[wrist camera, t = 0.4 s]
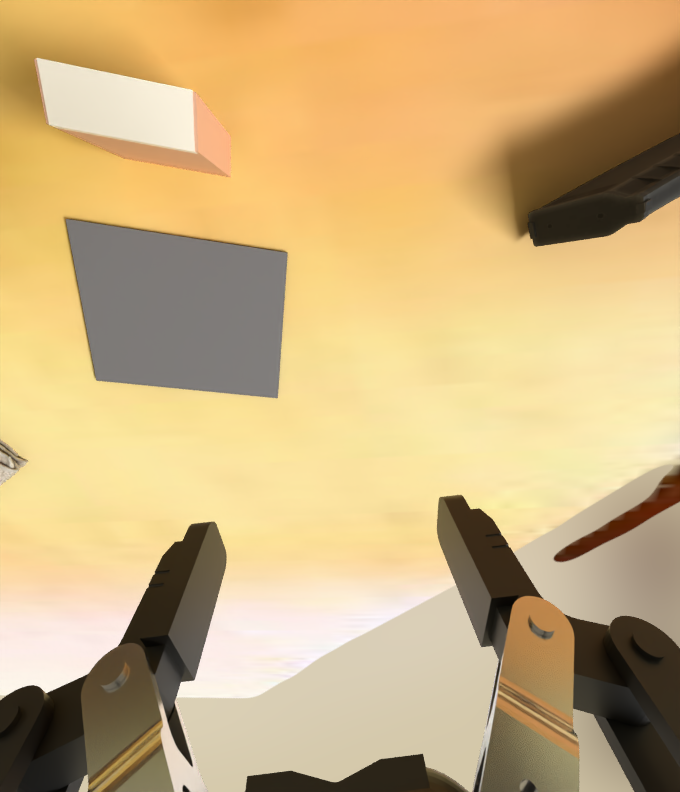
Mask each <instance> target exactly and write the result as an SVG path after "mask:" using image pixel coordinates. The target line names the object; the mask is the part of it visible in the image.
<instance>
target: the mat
mask: <svg viewBox="0 0 680 792" xmlns="http://www.w3.org/2000/svg"><path fill="white" fill-rule="evenodd" d="M66 223H67V229H68V234H69V239H70V244H71V250H72V255H73V260H74V265H75V271H76V276H77V281H78V286H79V292H80V297H81V302H82V307H83V313H84V318H85V323H86V328H87V334H88V339H89V344H90V349H91V355H92V360H93V365H94V370H95V376H96V380H97V381H107V382H117V383H127V384H138V385H148V386H158V387H168V388H179V389H189V390H199V391H209V392H220V393H230V394H240V395H250V396H260V397H271V398H278V386H279V371H280V357H281V342H282V327H283V313H284V298H285V283H286V269H287V254H288V253H286V252H279V251H273V250H266V249H260V248H253V247H247V246H240V245H234V244H227V243H221V242H214V241H208V240H201V239H195V238H188V237H181V236H175V235H168V234H162V233H155V232H149V231H142V230H136V229H129V228H123V227H116V226H110V225H103V224H97V223H90V222H83V221H77V220H70V219H66Z"/></svg>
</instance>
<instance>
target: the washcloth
mask: <svg viewBox="0 0 680 792" xmlns="http://www.w3.org/2000/svg"><path fill="white" fill-rule="evenodd" d="M27 462H28V460H23V459H21V458H19V457H18V454H17V453H16V452H15V451H14V450H13V448H12V447H10V446H9V445H8V444H6V443H5V442H3V441H2V440H0V485H2V484H3V483H4V482H6V480H8V479H10V478H11V477H12V476H13V475H15V473H17V472H18V471H19V469H20V468H21V467H23V466H25V465H26V463H27Z"/></svg>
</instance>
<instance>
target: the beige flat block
mask: <svg viewBox="0 0 680 792" xmlns="http://www.w3.org/2000/svg"><path fill="white" fill-rule="evenodd" d="M34 61H35V66H36V71H37V76H38V82H39V87H40V92H41V97H42V103H43V108H44V113H45V118H46V124H48V125H50V126H53V127H55V128H57V129H59V130H62V131H64V132H66V133H68V134H71V135H73V136H75V137H77V138H80V139H82V140H84V141H86V142H89V143H91V144H93V145H95V146H97V147H100V148H102V149H104V150H106V151H109V152H111V153H113V154H115V155H118V156H120V157H122V158H124V159H130V160H135V161H141V162H146V163H152V164H158V165H163V166H169V167H175V168H180V169H186V170H191V171H197V172H203V173H208V174H214V175H220V176H225V177H231V136H230V135H229V134H228V132H227V131H226V130H225V128H224V127H223V126H222V125H221V123H220V122H219V121H218V120H217V118H216V117H215V116H214V115H213V113H212V112H211V111H210V109H209V108H208V107H207V106H206V104H205V103H204V102H203V101H202V99H201V98H200V97H199V96H198V94H197V93H196V92H193V91H192V90H190V89H185V88H180V87H175V86H171V85H166V84H161V83H156V82H151V81H146V80H142V79H137V78H132V77H127V76H122V75H118V74H113V73H108V72H103V71H98V70H93V69H89V68H84V67H79V66H74V65H69V64H64V63H60V62H55V61H50V60H45V59H40V58H37V59H34Z"/></svg>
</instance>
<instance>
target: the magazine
mask: <svg viewBox="0 0 680 792" xmlns="http://www.w3.org/2000/svg"><path fill="white" fill-rule="evenodd" d="M678 197H680V133H679V134H678V135H676V136H674V137H672V138H670V139H668V140H666V141H664V142H662V143H660V144H658V145H656V146H654V147H652V148H651V149H649V150H647V151H645V152H643V153H641V154H639V155H637V156H635V157H633V158H632V159H630V160H628V161H626V162H624V163H622V164H620V165H618V166H617V167H615V168H613V169H611V170H609V171H607V172H605V173H604V174H602V175H600V176H598V177H596V178H594V179H593V180H591V181H589V182H587V183H585V184H583V185H582V186H580V187H578V188H576V189H574V190H573V191H571V192H569V193H567V194H565V195H563V196H562V197H560V198H558V199H556V200H554V201H553V202H551V203H549V204H547V205H545V206H543V207H542V208H540V209H537V210H533V211H532V212H530V213H529V214H528V218H529V223H528V228H529V233H530V238H531V239H533V244H534V246H536V247H537V246H543V245H550V244H557V243H564V242H571V241H577V240H584V239H591V238H598V237H604V236H609V235H611V234H613V233H615V232H616V231H618V230H619V229H621V228H622V227H624V226H625V225H627V224H630V223H636V222H640V221H642V220H643V219H645V218H646V217H647V216H648V215H649V214H651V213H652V212H654V211H656V210H657V209H659V208H661V207H662V206H664V205H666V204H667V203H669V202H671V201H673V200H675V199H676V198H678Z"/></svg>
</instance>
